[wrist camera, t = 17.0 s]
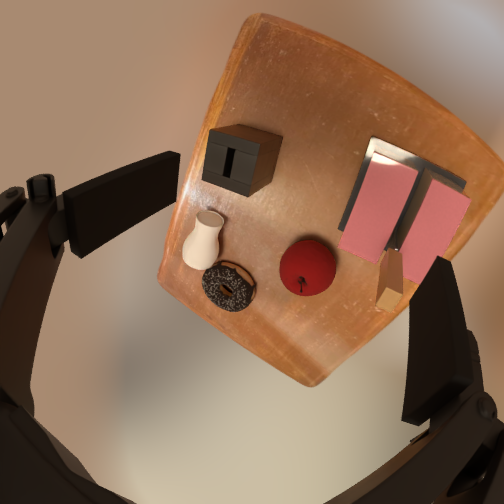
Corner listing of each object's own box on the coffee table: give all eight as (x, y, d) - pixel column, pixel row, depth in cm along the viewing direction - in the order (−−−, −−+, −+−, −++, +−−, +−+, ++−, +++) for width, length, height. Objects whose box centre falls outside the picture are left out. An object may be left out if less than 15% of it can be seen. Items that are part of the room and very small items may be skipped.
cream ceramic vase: (205, 202, 56) (194, 242, 62) (183, 215, 51) (173, 257, 57) (235, 220, 55) (221, 259, 61) (216, 235, 49) (202, 276, 55)
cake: (371, 135, 38) (368, 140, 31) (465, 180, 34) (480, 196, 27) (338, 226, 47) (328, 250, 40) (422, 265, 43) (426, 295, 36)
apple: (341, 236, 48) (329, 265, 40) (338, 282, 52) (325, 316, 44) (289, 229, 51) (267, 255, 43) (289, 274, 55) (269, 305, 47)
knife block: (238, 124, 46) (209, 129, 39) (282, 137, 44) (260, 143, 37) (230, 167, 51) (201, 179, 43) (271, 182, 49) (248, 197, 41)
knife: (390, 217, 41) (387, 285, 26) (401, 223, 41) (404, 293, 26) (382, 234, 43) (373, 307, 28) (393, 239, 43) (390, 314, 28)
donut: (253, 311, 64) (245, 322, 61) (207, 292, 67) (197, 302, 64) (260, 270, 58) (251, 281, 55) (208, 251, 62) (197, 260, 58)
